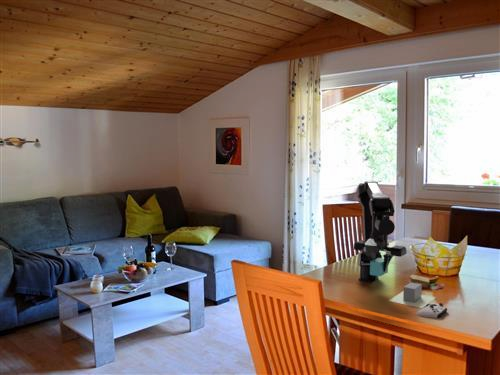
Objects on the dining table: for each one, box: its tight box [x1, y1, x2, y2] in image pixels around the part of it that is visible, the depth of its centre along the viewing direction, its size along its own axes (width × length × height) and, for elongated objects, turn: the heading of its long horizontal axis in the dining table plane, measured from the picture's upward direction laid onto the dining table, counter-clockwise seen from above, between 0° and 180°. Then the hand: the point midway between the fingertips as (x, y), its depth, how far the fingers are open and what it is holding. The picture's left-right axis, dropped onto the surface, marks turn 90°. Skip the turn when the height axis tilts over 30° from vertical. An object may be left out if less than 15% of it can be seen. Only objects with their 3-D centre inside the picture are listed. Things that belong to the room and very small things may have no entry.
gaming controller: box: [415, 302, 448, 319], centre depth 158 cm, size 11×6×7 cm
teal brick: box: [370, 257, 389, 277], centre depth 178 cm, size 4×7×5 cm, turn 141°
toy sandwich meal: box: [407, 274, 445, 291], centre depth 187 cm, size 12×14×5 cm
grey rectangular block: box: [403, 282, 423, 303], centre depth 171 cm, size 4×7×5 cm, turn 141°
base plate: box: [388, 290, 436, 309], centre depth 171 cm, size 12×14×1 cm
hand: (379, 270), depth 178 cm, fingers closed on teal brick, 4 cm apart
